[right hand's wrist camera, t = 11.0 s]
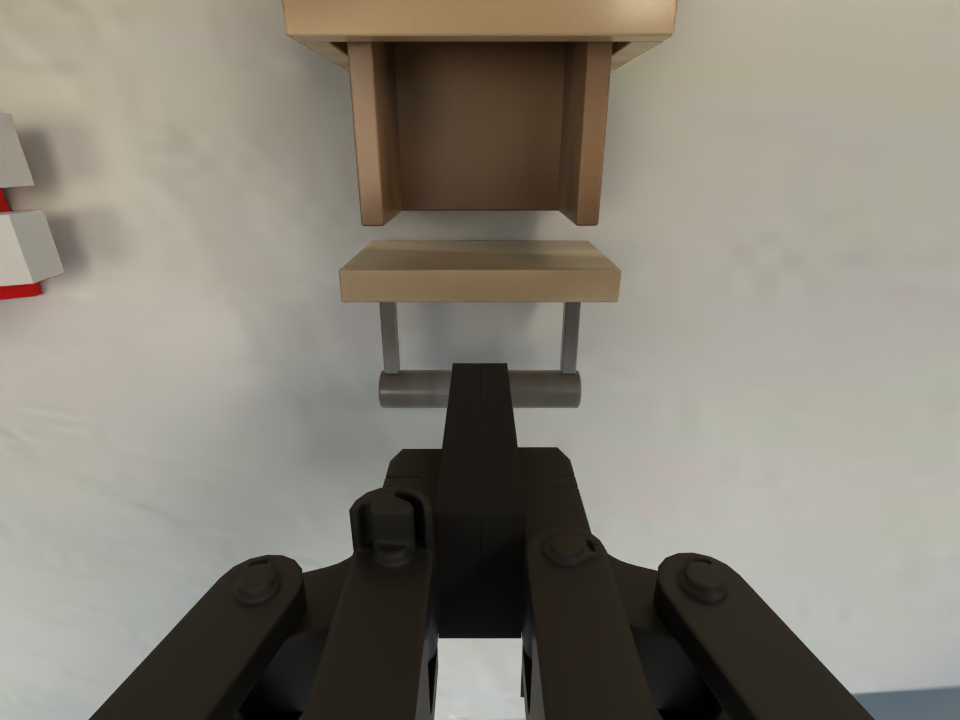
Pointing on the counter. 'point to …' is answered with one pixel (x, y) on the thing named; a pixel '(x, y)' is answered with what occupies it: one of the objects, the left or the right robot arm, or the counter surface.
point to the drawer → (479, 189)
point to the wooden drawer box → (480, 23)
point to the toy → (21, 226)
